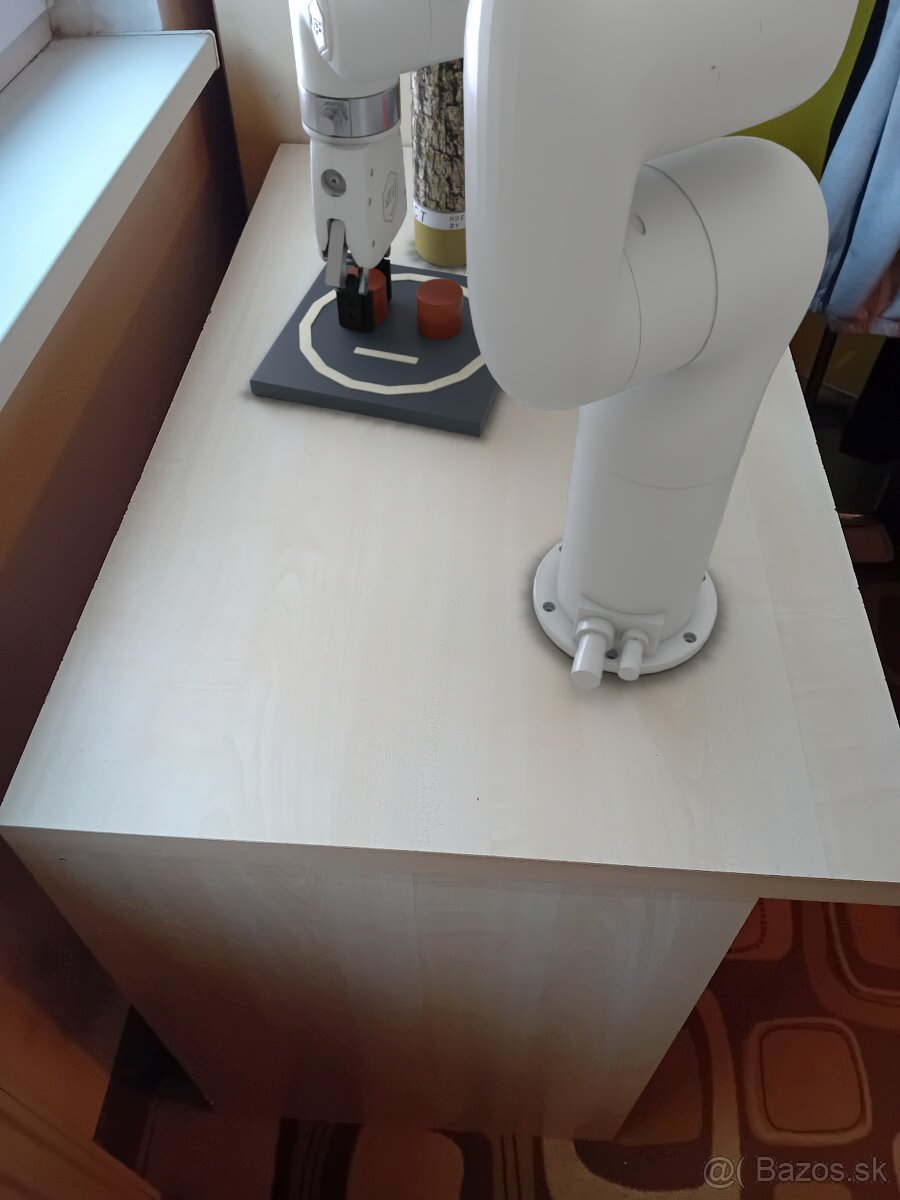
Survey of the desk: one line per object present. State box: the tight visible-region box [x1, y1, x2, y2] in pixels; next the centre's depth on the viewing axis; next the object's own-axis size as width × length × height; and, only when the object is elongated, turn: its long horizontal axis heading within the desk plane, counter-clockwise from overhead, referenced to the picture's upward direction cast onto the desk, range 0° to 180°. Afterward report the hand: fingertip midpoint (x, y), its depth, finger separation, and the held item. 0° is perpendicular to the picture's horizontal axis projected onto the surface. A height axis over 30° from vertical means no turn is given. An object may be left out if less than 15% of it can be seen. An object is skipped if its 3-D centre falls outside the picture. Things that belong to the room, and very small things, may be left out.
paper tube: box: [409, 57, 467, 267], centre depth 86 cm, size 7×7×25 cm
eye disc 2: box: [417, 278, 463, 339], centre depth 84 cm, size 4×4×4 cm
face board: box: [249, 262, 501, 437], centre depth 86 cm, size 20×20×2 cm
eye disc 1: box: [346, 267, 388, 325], centre depth 85 cm, size 4×4×4 cm
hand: (366, 310), depth 86 cm, fingers closed on eye disc 1, 4 cm apart
